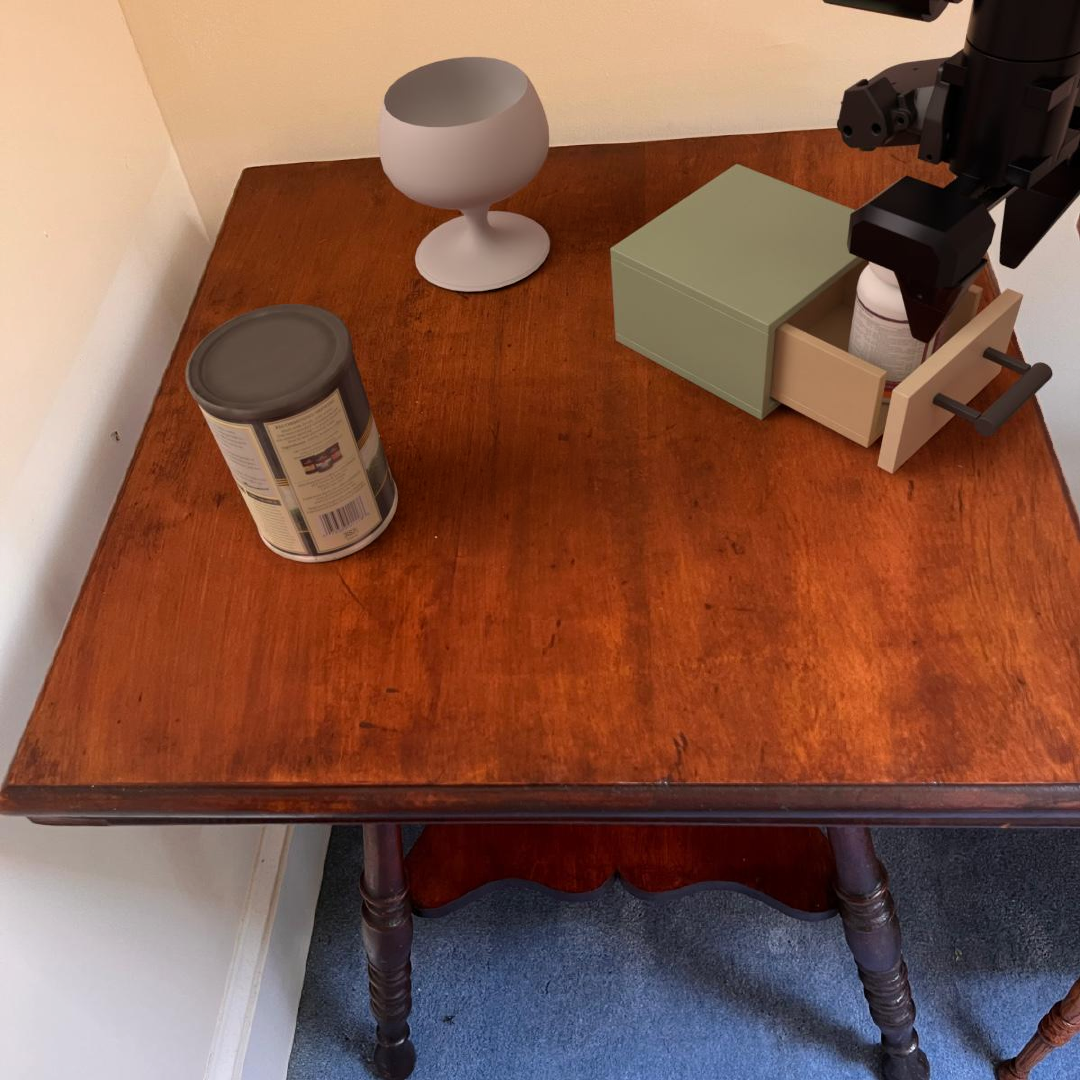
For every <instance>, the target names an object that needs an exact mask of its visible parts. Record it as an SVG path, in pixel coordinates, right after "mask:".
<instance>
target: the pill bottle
mask: <svg viewBox="0 0 1080 1080" xmlns="http://www.w3.org/2000/svg"><path fill="white" fill-rule="evenodd" d="M949 317H950V316H949ZM948 321H949V318H948V319H947V321H946V322H945V323H944V325H943V326H942V328H941V329H940V330H939V332H938V333H937V334H936V336H935V337H934V338H933V340H932V341H931V342H929V343H928V344H925V343H923V342H921V341H918V340H916V339H914V338H913V337H912V335H911V331H910V327H909V323H908V319H907V315H906V311H905V307H904V303H903V299H902V295H901V291H900V287H899V284H898V282H897V279H896V276H895V274H894V272H893V271H891V270H889V269H886V268H884V267H881V266H879V265H877V264H874V263H872V262H869V265H868V266H867V267H866V268H865V269H864V270H863V272H862V273H861V275H860V278H859V281H858V285H857V290H856V296H855V304H854V311H853V318H852V325H851V331H850V336H849V343H848V349H847V353H849V354H852V355H854V356H856V357H858V358H860V359H862V360H864V361H866V362H868V363H870V364H872V365H875V366H877V367H879V368H881V369H883V370H885V371H887V377H886V382H885V387H884V392H883V397H882V403H890V401H891V396H892V391H893V389H895V388H896V387H897V386H898V385H899V384H900V383H901V382H902V381H904V380H905V379H906V378H907V377H908V376H909V375H910V374H911V373H913V372H914V371H915V370H916V369H917V368H918V367H919V366H920V365H922V364H923V363H924V362H925V361H926V360H927V359H928V358H929V357H931V356H932V355H933V354H934V353H935V352H936V351H937V350H938V349H940V348H941V347H942V345H943V342H944V338H945V334H946V329H947V325H948Z"/></svg>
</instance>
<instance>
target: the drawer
mask: <svg viewBox="0 0 1080 1080" xmlns="http://www.w3.org/2000/svg"><path fill="white" fill-rule="evenodd" d="M868 265H869V261H867V260H865V259H864V260H862V261H861V262H860V263H859V264H857V265H856V266H855V267H854V268H852V269H851V270H850V271H848V272H847V273H846V274H845V275H843V276H842V277H841V278H840V279H838V280H837V281H836V282H834V283H833V284H832V285H831V286H829V287H828V288H827V289H826V290H824V291H823V292H822V293H821V294H819V295H818V296H817V297H815V298H814V299H813V300H812V301H810V302H809V303H808V304H807V305H805V306H804V307H803V308H801V309H800V310H799V311H798V312H796V313H795V314H794V315H793V316H791V317H790V318H789V319H787V320H786V321H785V322H784V323H782V324H781V325H780V326H779V327H777V328H776V329H775V341H774V352H773V364H772V376H771V387H770V397H772V398H774V399H775V400H777V401H779V402H781V403H782V404H783V405H785V406H787V407H789V408H791V409H793V410H794V411H796V412H798V413H800V414H802V415H804V416H806V417H808V418H809V419H811V420H813V421H815V422H817V423H820V424H821V425H822V426H824V427H827V428H828V429H830V430H832V431H834V432H836V433H837V434H840V435H842V436H843V437H845V438H847V439H848V440H851V441H853V442H855V443H857V444H858V445H860V446H862V447H864V448H866V449H868V448H869V447H870V446H871V445H873V444H874V443H875V442H876V441H877V440H878V439H879V438H880V437H881V436H882V435H883V436H882V439H881V440H882V441H881V446H880V450H879V455H878V461H877V467H879V468H881V469H882V470H884V471H886V472H888V473H890V474H892V475H893V474H894V473H895V472H896V471H897V470H898V469H900V467H901V466H903V465H904V463H905V462H907V461H908V460H909V459H910V458H911V457H912V456H913V455H914V454H916V452H917V451H918V450H920V448H922V447H923V446H924V445H925V444H926V443H927V442H928V441H929V440H930V439H931V438H932V437H934V435H935V434H936V433H937V432H939V431H940V430H941V429H942V428H943V427H944V426H945V425H946V424H948V422H949V421H951V419H953V417H955V416H958V417H959V418H961V419H963V420H966V421H968V422H969V423H971V424H974V429H975V431H976V432H977V433H978V434H979V435H980V436H982V437H987V438H989V437H993V436H994V435H995V434H996V433H997V432H999V430H1000V429H1001V428H1002V427H1003V426H1004V425H1005V424H1006V423H1007V422H1008V421H1009V420H1010V419H1011V418H1012V417H1013V416H1014V415H1015V414H1016V413H1017V412H1019V411H1020V410H1021V409H1022V407H1024V406H1025V405H1026V404H1027V403H1028V401H1030V399H1032V398H1033V396H1035V395H1036V394H1037V393H1038V392H1039V391H1040V390H1041V389H1042V388H1043V387H1044V386H1045V385H1046V384H1047V383H1048V382H1049V381H1050V380H1051V379H1052V378H1053V369H1052V368H1051V366H1050V365H1049V364H1047V363H1045V362H1041V361H1040V362H1035V363H1034V364H1033V365H1032V364H1030V363H1028V362H1026V361H1023V360H1020V359H1019V358H1016V357H1014V356H1012V355H1009V354H1007V352H1008V347H1009V345H1010V341H1011V337H1012V335H1013V331H1014V327H1015V325H1016V322H1017V318H1018V315H1019V311H1020V308H1021V305H1022V301H1023V299H1024V294H1023V293H1021V292H1018V291H1015V290H1013V289H1011V288H1006V289H1005V290H1004V291H1003V292H1001V293H1000V294H999V295H998V296H996V298H995V299H994V300H992V301H991V302H990V303H989V304H988V305H987V306H986V307H985V308H983V309H982V310H981V311H980V312H979V313H978V309H979V305H980V301H981V297H982V294H983V290H984V288H983V287H981V286H978V285H976V284H974V283H973V284H972V285H971V286H970V288H969V289H968V291H967V292H966V294H965V295H964V296H963V298H962V299H961V301H960V302H959V303H958V305H957V306H956V308H955V309H954V311H953V312H952V313H951V315H950V317H949V321H948V325H947V329H946V334H945V338H944V342H943V345H942V347H941V348H940V349H938V350H937V351H936V352H935V353H934V354H933V355H932V356H931V357H929V358H928V359H927V360H926V361H925V362H924V363H923V364H922V365H920V366H919V367H918V368H917V369H916V370H915V371H914V372H913V373H911V374H910V375H909V376H908V377H907V378H906V379H905V380H904V381H902V382H901V383H900V384H899V385H898V386H897V387H896V388H895V389H893V391H892V396H891V401H890V403H882V397H883V392H884V387H885V382H886V377H887V371H885V370H883V369H881V368H879V367H877V366H875V365H872V364H870V363H868V362H866V361H864V360H862V359H860V358H858V357H856V356H854V355H852V354H849V353H847V349H848V343H849V336H850V331H851V325H852V318H853V311H854V304H855V296H856V290H857V285H858V281H859V278H860V275H861V273H862V272H863V270H864V269H865V268H866V267H867V266H868ZM977 313H978V314H977ZM1002 367H1003V368H1006V369H1008V370H1011V371H1013V372H1015V373H1017V374H1019V375H1021V376H1020V377H1019V378H1018V379H1017V380H1016V381H1015V382H1014V383H1013V384H1011V386H1010V387H1009V388H1007V390H1005V392H1004V393H1002V394H1001V395H1000V396H999V397H998V398H997V399H996V400H995V401H994V402H993V403H992V404H991V405H990V406H989V407H988V408H987V409H986V410H985V411H984V412H983V413H982V412H981V411H979V410H976V409H975V408H972V407H970V406H968V405H967V404H968V403H969V402H970V401H972V400H973V398H975V396H977V395H978V394H979V393H980V392H981V391H982V390H983V389H984V388H985V387H986V386H988V385H989V383H991V381H992V380H994V379H995V378H996V377H997V376H998V375H999V374H1001V371H1002Z"/></svg>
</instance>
